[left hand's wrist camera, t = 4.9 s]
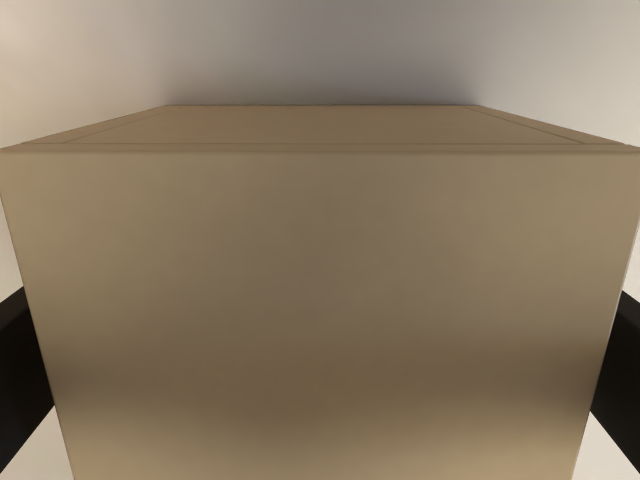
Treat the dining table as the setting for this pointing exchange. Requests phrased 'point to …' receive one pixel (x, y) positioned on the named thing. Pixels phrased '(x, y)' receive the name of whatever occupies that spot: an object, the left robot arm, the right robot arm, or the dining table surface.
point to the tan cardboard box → (322, 289)
